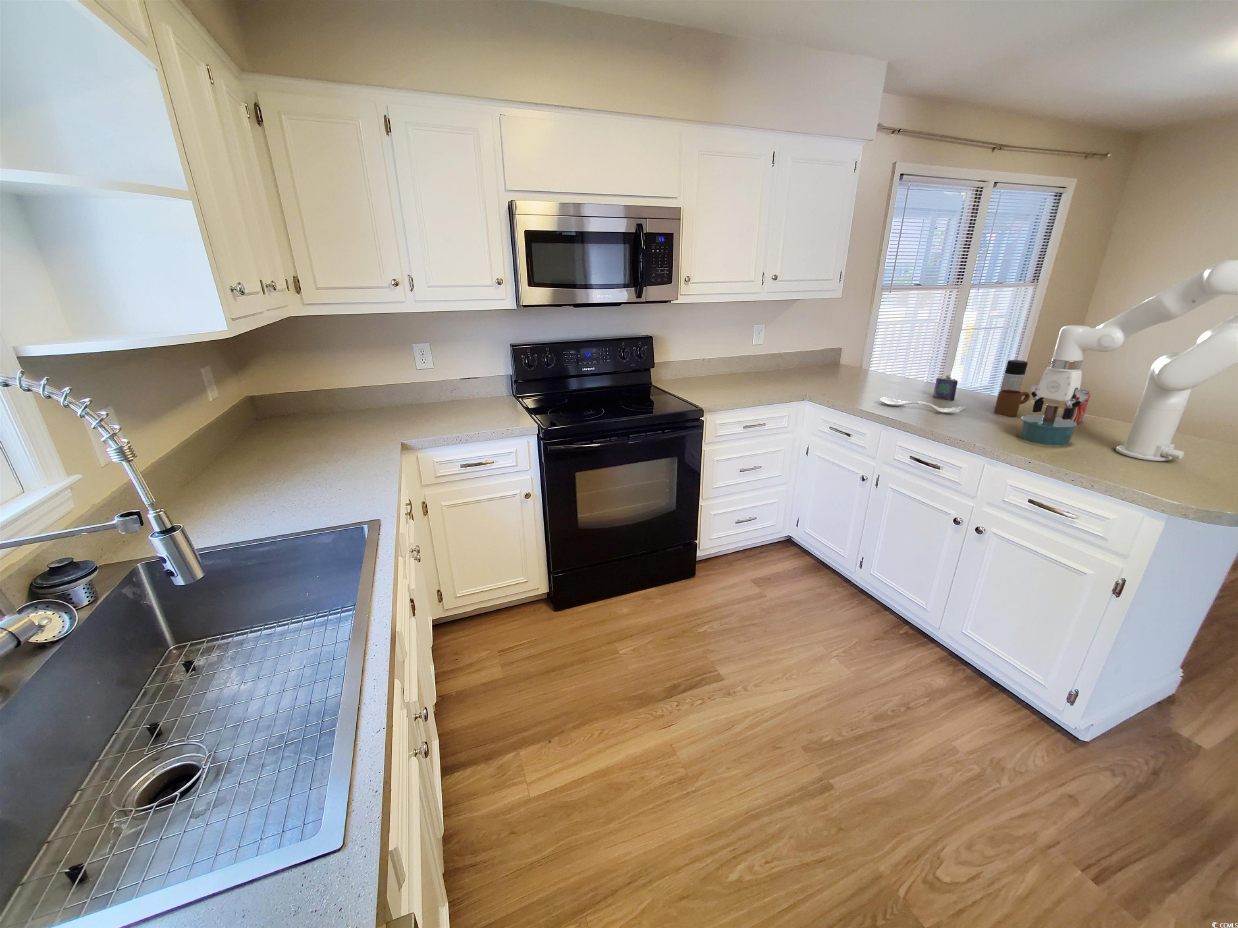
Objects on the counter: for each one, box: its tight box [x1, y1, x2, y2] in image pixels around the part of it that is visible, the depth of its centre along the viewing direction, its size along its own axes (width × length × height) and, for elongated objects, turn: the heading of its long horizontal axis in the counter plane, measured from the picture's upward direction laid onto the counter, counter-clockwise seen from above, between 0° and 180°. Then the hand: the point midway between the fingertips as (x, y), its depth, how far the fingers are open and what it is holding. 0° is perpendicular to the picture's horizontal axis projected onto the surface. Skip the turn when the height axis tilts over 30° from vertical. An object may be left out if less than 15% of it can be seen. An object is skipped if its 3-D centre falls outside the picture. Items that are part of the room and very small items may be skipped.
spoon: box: [878, 397, 966, 414], centre depth 210 cm, size 9×32×4 cm, turn 41°
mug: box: [993, 389, 1031, 418], centre depth 198 cm, size 12×8×9 cm, turn 93°
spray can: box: [999, 359, 1029, 392], centre depth 204 cm, size 7×7×20 cm
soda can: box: [1060, 389, 1091, 424], centre depth 187 cm, size 6×6×12 cm
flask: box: [932, 374, 959, 401], centre depth 225 cm, size 9×3×11 cm, turn 28°
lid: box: [1020, 403, 1078, 429], centre depth 167 cm, size 15×15×7 cm
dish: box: [1018, 421, 1076, 447], centre depth 169 cm, size 14×14×6 cm
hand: (1051, 415), depth 167 cm, fingers open, 9 cm apart
